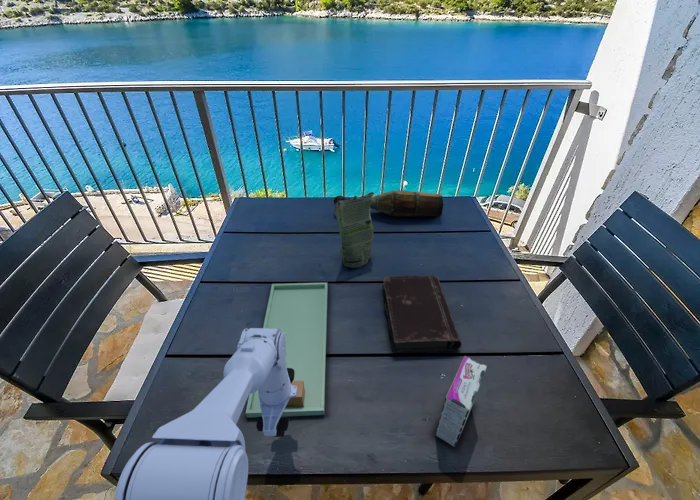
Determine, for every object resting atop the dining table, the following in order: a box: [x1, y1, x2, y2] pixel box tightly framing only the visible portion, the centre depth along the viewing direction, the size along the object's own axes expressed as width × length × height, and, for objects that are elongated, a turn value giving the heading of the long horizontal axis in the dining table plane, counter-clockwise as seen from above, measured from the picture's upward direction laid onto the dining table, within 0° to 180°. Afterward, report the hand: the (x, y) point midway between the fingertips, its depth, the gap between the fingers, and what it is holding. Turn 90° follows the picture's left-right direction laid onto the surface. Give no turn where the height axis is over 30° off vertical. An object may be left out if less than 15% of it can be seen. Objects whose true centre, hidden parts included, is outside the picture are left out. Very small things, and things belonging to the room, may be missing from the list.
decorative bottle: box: [332, 189, 446, 218], centre depth 143 cm, size 11×11×45 cm
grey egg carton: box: [434, 355, 488, 448], centre depth 73 cm, size 11×5×16 cm, turn 147°
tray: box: [245, 282, 329, 419], centre depth 95 cm, size 42×18×2 cm, turn 2°
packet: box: [286, 381, 305, 407], centre depth 81 cm, size 4×8×4 cm, turn 91°
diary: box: [382, 275, 462, 354], centre depth 101 cm, size 19×25×5 cm
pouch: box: [333, 191, 375, 269], centre depth 116 cm, size 11×12×25 cm
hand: (281, 415), depth 70 cm, fingers open, 7 cm apart
